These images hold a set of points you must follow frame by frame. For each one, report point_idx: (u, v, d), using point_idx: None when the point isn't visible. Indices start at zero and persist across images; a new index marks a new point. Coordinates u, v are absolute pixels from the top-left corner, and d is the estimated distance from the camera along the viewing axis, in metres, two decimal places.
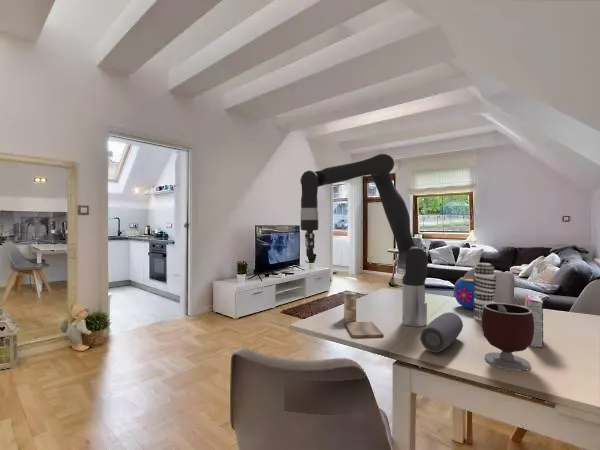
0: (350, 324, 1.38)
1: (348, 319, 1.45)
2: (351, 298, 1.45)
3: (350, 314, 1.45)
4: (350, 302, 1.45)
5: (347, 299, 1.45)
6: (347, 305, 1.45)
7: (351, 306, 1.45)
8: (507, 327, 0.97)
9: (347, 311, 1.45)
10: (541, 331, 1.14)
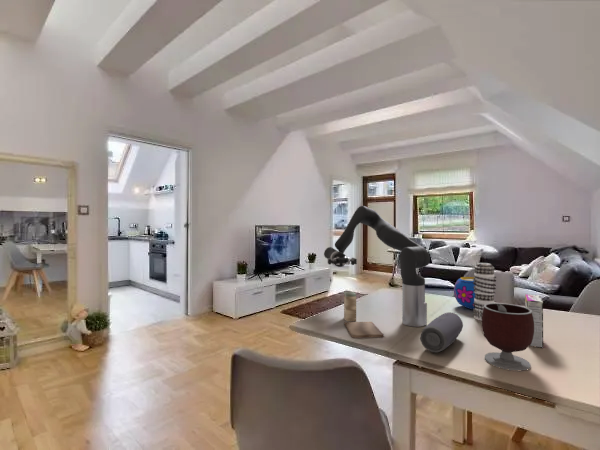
0: (350, 324, 1.38)
1: (348, 319, 1.45)
2: (351, 298, 1.45)
3: (350, 314, 1.45)
4: (350, 302, 1.45)
5: (347, 299, 1.45)
6: (347, 305, 1.45)
7: (351, 306, 1.45)
8: (507, 327, 0.97)
9: (347, 311, 1.45)
10: (541, 331, 1.14)
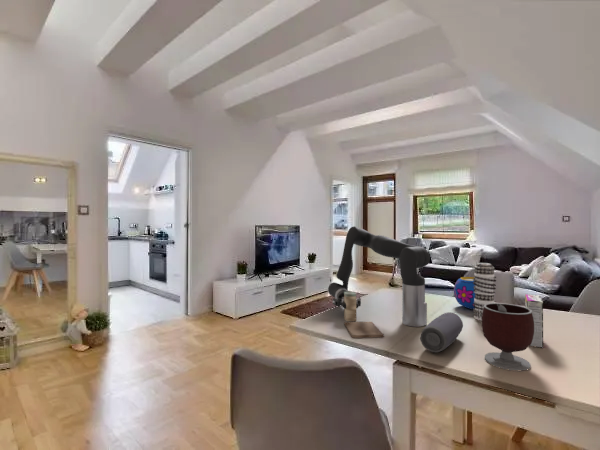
0: (350, 324, 1.38)
1: (348, 319, 1.45)
2: (351, 298, 1.45)
3: (350, 314, 1.45)
4: (350, 302, 1.45)
5: (347, 299, 1.45)
6: (347, 305, 1.45)
7: (351, 306, 1.45)
8: (507, 327, 0.97)
9: (347, 311, 1.45)
10: (541, 331, 1.14)
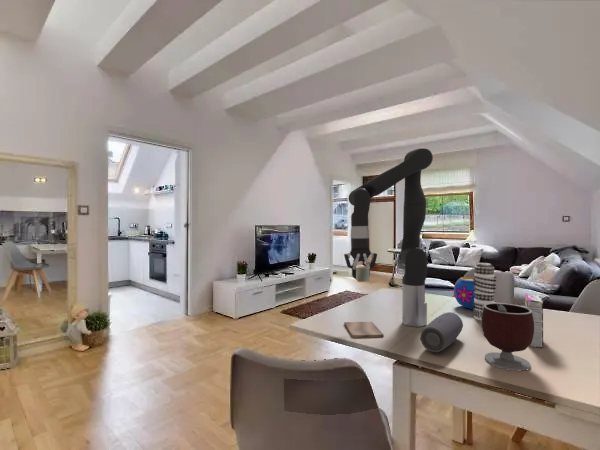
0: (350, 324, 1.38)
1: None
2: None
3: None
4: None
5: None
6: None
7: None
8: (507, 327, 0.97)
9: None
10: (541, 331, 1.14)
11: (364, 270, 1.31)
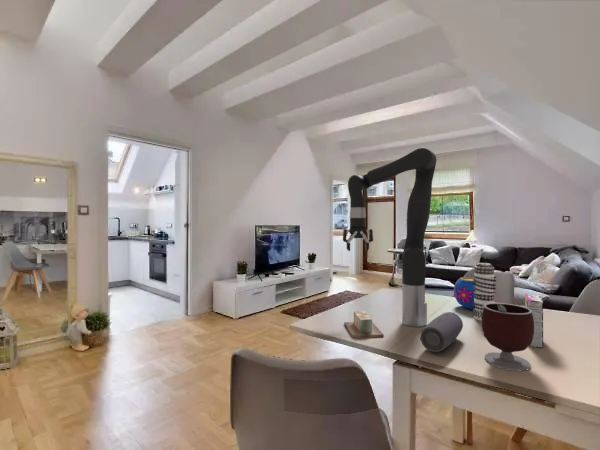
0: (350, 324, 1.38)
1: None
2: None
3: None
4: None
5: None
6: None
7: None
8: (507, 327, 0.97)
9: None
10: (541, 331, 1.14)
11: (367, 321, 1.28)
